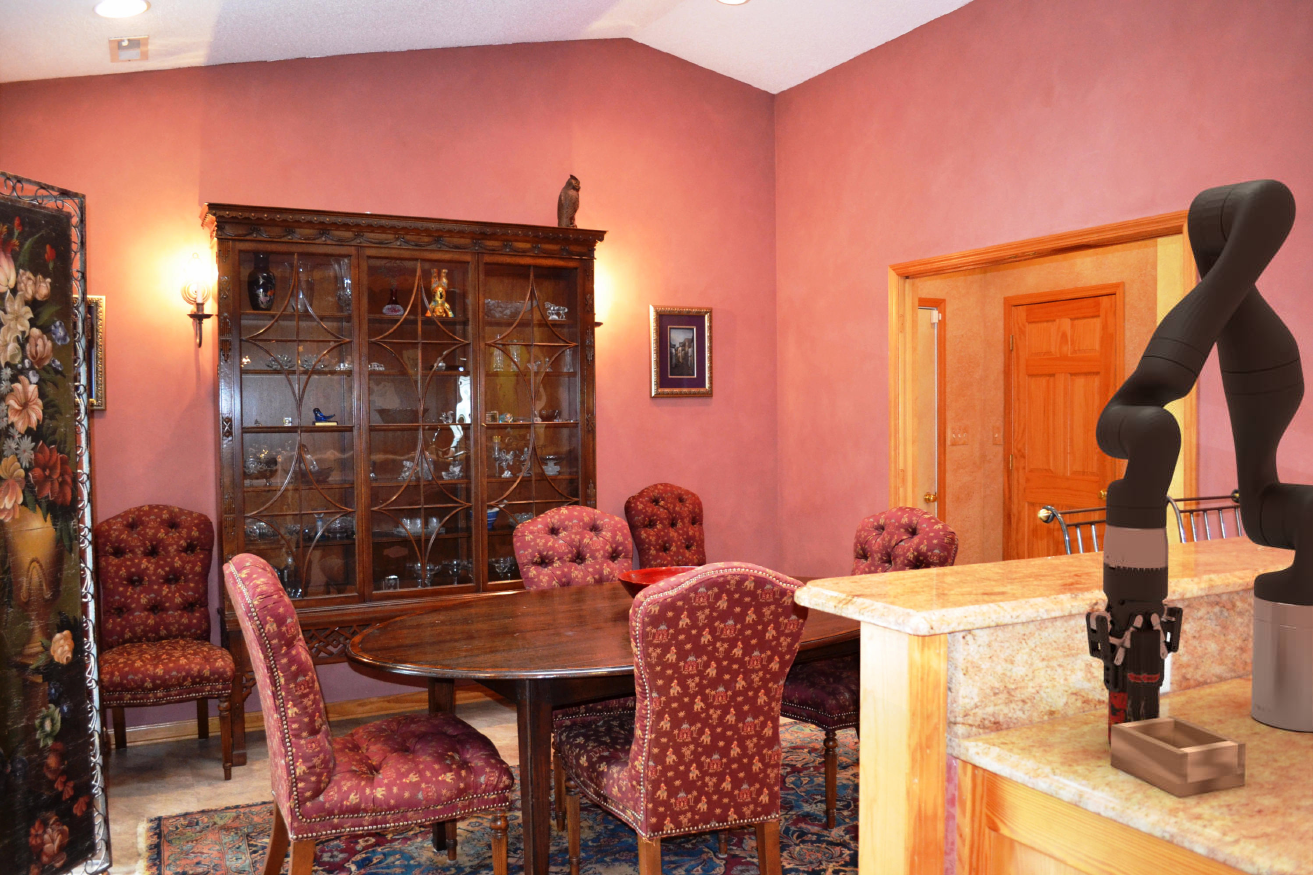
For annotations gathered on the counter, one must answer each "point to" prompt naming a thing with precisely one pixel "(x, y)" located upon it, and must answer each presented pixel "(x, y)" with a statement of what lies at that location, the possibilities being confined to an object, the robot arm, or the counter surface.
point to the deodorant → (1137, 680)
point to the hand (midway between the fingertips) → (1133, 687)
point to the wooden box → (1178, 755)
